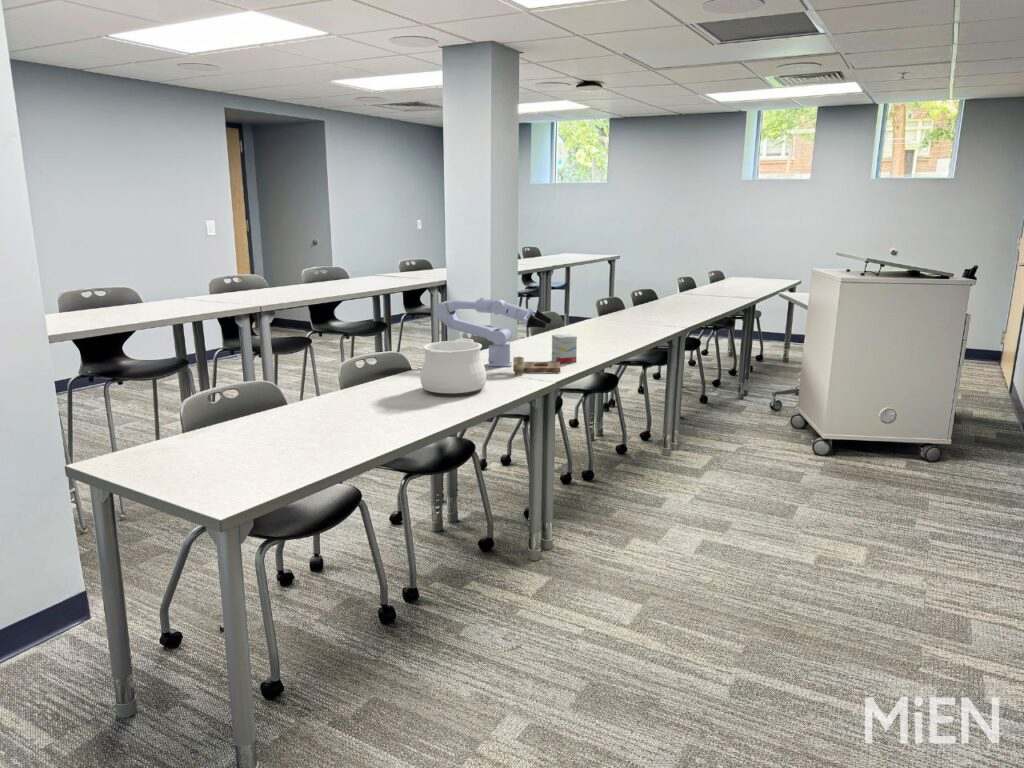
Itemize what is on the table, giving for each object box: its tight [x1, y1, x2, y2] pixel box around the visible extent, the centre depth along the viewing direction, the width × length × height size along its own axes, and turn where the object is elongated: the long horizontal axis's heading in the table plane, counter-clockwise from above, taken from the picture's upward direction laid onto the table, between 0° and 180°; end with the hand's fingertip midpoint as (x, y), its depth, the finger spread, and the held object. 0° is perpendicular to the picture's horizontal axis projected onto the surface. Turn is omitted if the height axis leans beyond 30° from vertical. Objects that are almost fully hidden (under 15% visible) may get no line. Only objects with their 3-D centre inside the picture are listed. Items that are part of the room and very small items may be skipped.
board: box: [523, 361, 561, 373], centre depth 301 cm, size 16×13×2 cm
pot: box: [419, 338, 487, 398], centre depth 265 cm, size 28×24×17 cm
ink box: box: [551, 333, 578, 365], centre depth 316 cm, size 9×9×12 cm
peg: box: [512, 356, 525, 376], centre depth 291 cm, size 4×4×7 cm
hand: (548, 323), depth 300 cm, fingers open, 7 cm apart
